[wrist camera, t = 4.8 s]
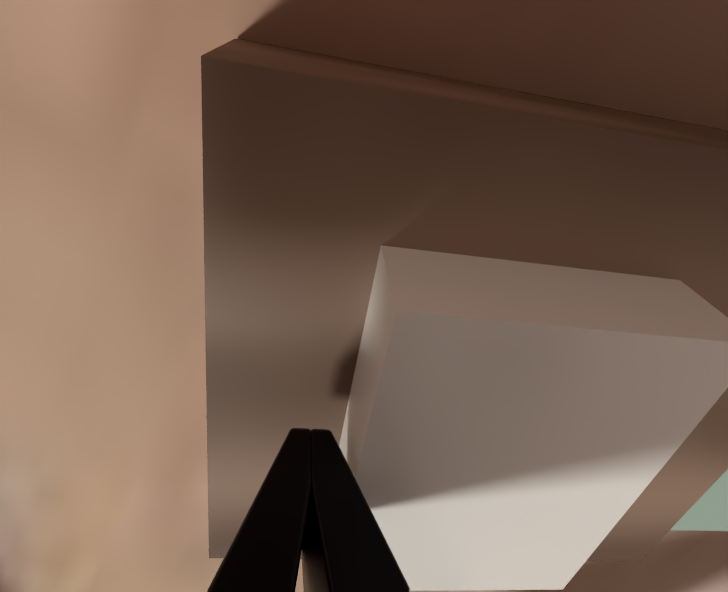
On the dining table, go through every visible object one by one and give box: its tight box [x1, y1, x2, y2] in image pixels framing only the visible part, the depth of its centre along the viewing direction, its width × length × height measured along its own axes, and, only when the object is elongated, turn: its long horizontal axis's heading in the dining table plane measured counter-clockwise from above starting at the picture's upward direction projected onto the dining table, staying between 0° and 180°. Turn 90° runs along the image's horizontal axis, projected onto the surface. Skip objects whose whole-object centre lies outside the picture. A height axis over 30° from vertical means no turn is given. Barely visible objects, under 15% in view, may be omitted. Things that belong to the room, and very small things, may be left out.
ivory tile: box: [339, 245, 728, 591], centre depth 10 cm, size 8×6×2 cm
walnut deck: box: [201, 39, 728, 561], centre depth 12 cm, size 13×14×3 cm
